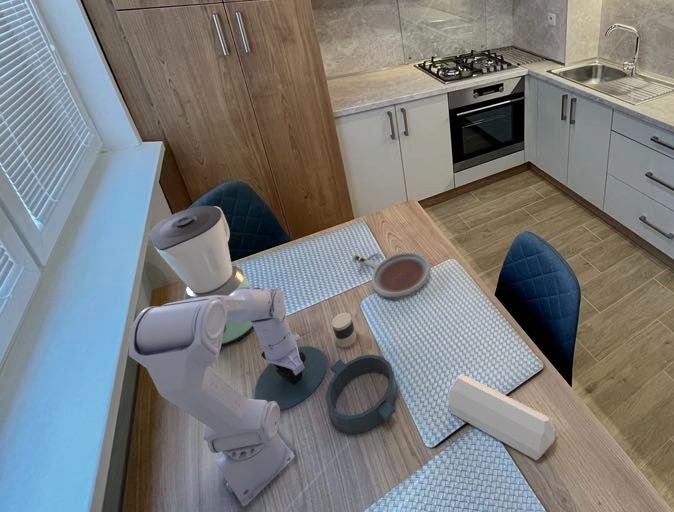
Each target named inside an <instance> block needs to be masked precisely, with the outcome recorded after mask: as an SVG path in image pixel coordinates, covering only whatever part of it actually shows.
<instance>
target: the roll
mask: <svg viewBox="0 0 674 512" xmlns="http://www.w3.org/2000/svg"><path fill="white" fill-rule="evenodd" d="M331 326H332V329H333V332H334V336H335V339H336V342H337V345H338V346H339V347H340V348H348V347H350V346H351V345H353V344H354V343H355V342H356V339H357V333H356V329H355V326H354V321H353V318H352V315H351V314H350V313H348V312H341V313H338V314H336V315H335V316H334V317H333V318H332V321H331Z"/></svg>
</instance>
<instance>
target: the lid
mask: <svg viewBox="0 0 674 512" xmlns="http://www.w3.org/2000/svg"><path fill="white" fill-rule="evenodd" d="M297 348H298V352H299V353H300V352H303V353H304V354H305V356H306V359H305V361H304V364H303V365H304V367H305V368H304V369H303V370H302V379H301V380H299V381H298V382H297V383H296V384H295V385H292V384H291V383H290V382H289V381H288V379H287V378H285V377H281V376H280V375H279V374H278V373H277V372H276V370H277V368H276V366H275V365H274V364H272V363H269V364H268V365H267V366H266V367H265V368H264V370H263V371H262V372H261V373H260V375H259V377H258V379H257V382H256V384H255V388H254V398H255V399H256V400H267V401H268V402H271V401H275V402H276V403H277V404H278V406H279V408H280V412H281V411H285V410H289V409H291V408H294V407H295V406H298V405H299V404H301V403H302V402H304V401H305V400H307V399H308V398H309V397H310V396H311V395H312V394H313V393H314V392H315V391H316V390H317V389H318V387H319V386H320V385H321V384H322V382H323V380H324V378H325V376H326V372H327V368H328V367H327V366H328V363H327V359H326V355H325V354H324V352H323V351H322V350H321V349H320V348H317V347H315V346H309V345H308V346H307V345H306V346H304V345H303V346H297Z"/></svg>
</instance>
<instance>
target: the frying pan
mask: <svg viewBox="0 0 674 512" xmlns="http://www.w3.org/2000/svg"><path fill="white" fill-rule="evenodd" d="M377 256H379V253H378V252H376V253H373V254H371V255H369V256H368V257H367V258H363V257H362V256H359V255H358V254H357V253H356V254H353V255H352V259H353V260H354V261H355V260H357V261H360V262H361V263H360V264H359V266H358V269H357V271H358V273H360V272H361V270H362V269H361V268H362V267H363V266H364V265H368V266H370V267H373V268H375V269H374V271H373V273H372V276H371V286H372V287H373V289H374V291H375V292H377V293H378V294H379V295H381V296H382V297H383V298H385V299H390V300H401V299H405V298H409V297H411V296H413V295H415V294H417V293H418V292H419V291H420V290H421V289H423V288H424V286H425V285H426V283H427V282H428V279H429V277H430V274H431V264H430V262H429V261H428V260H427V258H426V257H425V256H424V255H421V254H420V253H416V252H412V251H408V252H405V251H404V252H399V253H395V254H393V255H390V256H388V257H386V258H385V259H383V260H382V261H381V262H380V263H378V262H375V261H373V260H371V259H372V258H374V257H377Z"/></svg>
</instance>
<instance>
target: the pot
mask: <svg viewBox="0 0 674 512" xmlns="http://www.w3.org/2000/svg"><path fill="white" fill-rule="evenodd" d="M330 370H331V371H332V372H333V373H334V375H333V377H332V379H331V380H330V381H329V383H328V386H327V389H326V393H325V402H326V407H327V411H328V414H329V416H330V418H331V421H332V423H333V425H334V426H335V427H336V428H337V429H338V430H339V431H340V432H343V433H347V434H350V435H356V434H361V433H365V432H368V431H370V430H372V429H374V428H375V427H377V426H378V425H380V424H381V423H382V422H383V421H385V422H388V420H389V419H390V418H391V417H392V416H393V415H394V413H395V412H396V408H395V407H394V404H395V403H396V400H397V394H398V393H397V391H398V386H397V385H398V384H397V380H396V376H395V374H394V370H393V367H392V365H391V362H389V361H388V360H387V359H386V358H384V357H383V356H382V355H376V354H366V355H360V356H357V357H355V358H353V359H351V360H349V361H347V362H344V361H343V360H342V359H341V358H339V359H338V360H337V361H335V363H333V364H332V365H331V366H330ZM368 373H379V374H383V375H384V376H385V377H386V378H388V386H387V388H386V390H385V392H384V394H383V395H382V397H381V398H380V399H379V400H378V401H377V402H376V403H375V404H374V405H373V406H371V407H370V408H368V409H366V410H365V411H363V412H361V413H356V414H350V415H349V414H345V413H341V412H339V411H337V409H336V407H337V406H336V405H337V401H338V398H339V396H340V394H341V393H342V391H343V390H344V388H345V387H346V386H347V385H348V384H349V383H351V381H352V380H353V379H356V378H358V377H359V376H362V375H363V374H368Z"/></svg>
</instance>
